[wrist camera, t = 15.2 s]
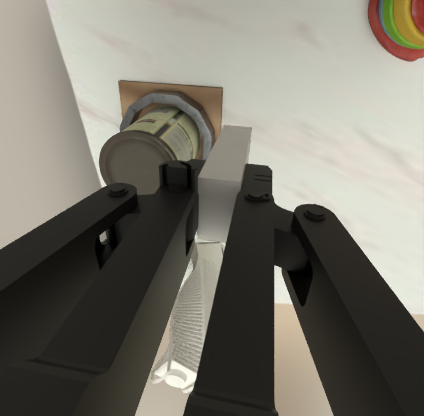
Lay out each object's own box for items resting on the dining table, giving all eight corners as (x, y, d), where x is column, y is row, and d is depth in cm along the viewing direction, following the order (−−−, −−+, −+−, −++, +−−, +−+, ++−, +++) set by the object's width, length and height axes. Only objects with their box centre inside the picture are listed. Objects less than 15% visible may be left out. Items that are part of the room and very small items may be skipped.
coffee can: (164, 175, 52) (132, 219, 40) (129, 123, 48) (82, 155, 36) (214, 150, 48) (195, 190, 36) (180, 91, 44) (145, 115, 32)
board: (120, 80, 46) (118, 81, 45) (222, 87, 44) (222, 88, 43) (131, 174, 54) (129, 176, 53) (217, 184, 52) (217, 186, 51)
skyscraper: (186, 236, 60) (130, 372, 36) (225, 235, 58) (193, 377, 34) (194, 268, 64) (149, 408, 40) (231, 267, 62) (206, 414, 38)
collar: (123, 87, 45) (114, 90, 43) (216, 94, 43) (212, 98, 41) (133, 172, 53) (126, 180, 50) (212, 181, 51) (209, 189, 48)
